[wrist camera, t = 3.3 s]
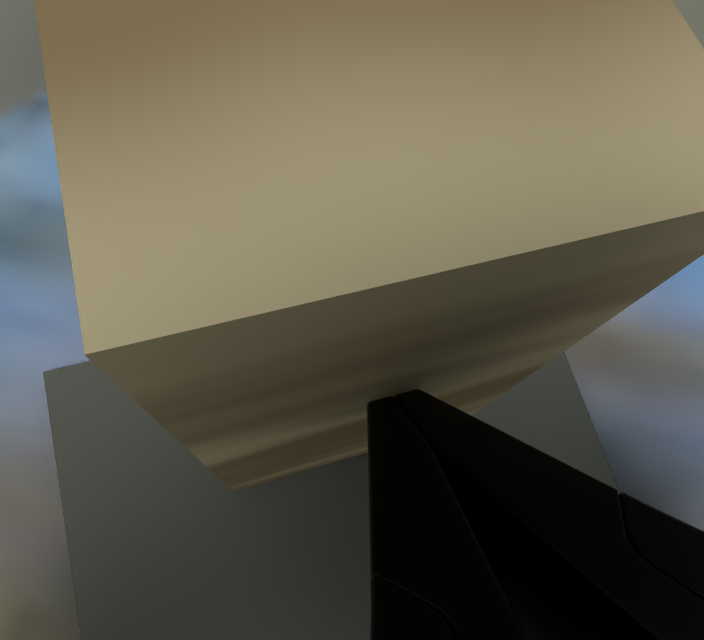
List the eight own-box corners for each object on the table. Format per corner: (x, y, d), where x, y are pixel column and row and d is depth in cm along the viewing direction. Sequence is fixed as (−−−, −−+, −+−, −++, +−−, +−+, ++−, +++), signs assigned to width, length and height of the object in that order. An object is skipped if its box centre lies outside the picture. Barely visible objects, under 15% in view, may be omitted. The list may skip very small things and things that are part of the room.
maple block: (455, 426, 15) (796, 189, 5) (233, 492, 14) (84, 354, 4) (413, 310, 16) (621, -77, 6) (205, 361, 15) (31, -15, 5)
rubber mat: (702, 723, 14) (713, 729, 14) (136, 978, 12) (132, 994, 11) (521, 263, 18) (526, 258, 17) (49, 375, 15) (43, 371, 14)
